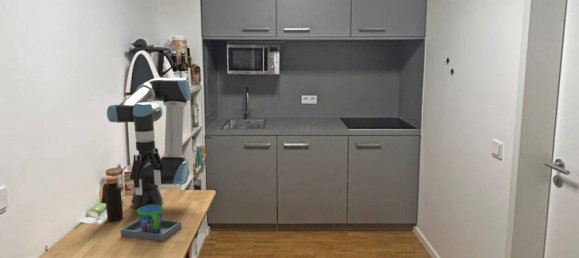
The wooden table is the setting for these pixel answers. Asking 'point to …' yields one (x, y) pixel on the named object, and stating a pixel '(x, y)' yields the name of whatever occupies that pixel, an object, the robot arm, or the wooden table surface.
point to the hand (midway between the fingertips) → (148, 189)
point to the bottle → (113, 200)
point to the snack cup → (150, 218)
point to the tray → (136, 232)
